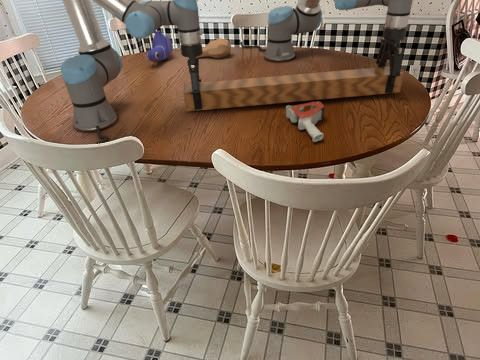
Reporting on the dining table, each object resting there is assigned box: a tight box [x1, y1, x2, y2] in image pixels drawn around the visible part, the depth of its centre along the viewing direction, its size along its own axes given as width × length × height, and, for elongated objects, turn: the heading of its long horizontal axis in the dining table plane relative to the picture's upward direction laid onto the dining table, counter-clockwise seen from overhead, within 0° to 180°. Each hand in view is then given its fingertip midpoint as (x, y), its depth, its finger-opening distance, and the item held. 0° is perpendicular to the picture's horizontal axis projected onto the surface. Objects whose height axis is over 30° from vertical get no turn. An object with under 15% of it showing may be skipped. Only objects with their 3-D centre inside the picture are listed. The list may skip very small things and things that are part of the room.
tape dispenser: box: [285, 100, 325, 143], centre depth 121 cm, size 18×5×20 cm
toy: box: [146, 29, 174, 67], centre depth 185 cm, size 10×17×25 cm
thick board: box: [183, 65, 405, 112], centre depth 136 cm, size 82×8×8 cm, turn 95°
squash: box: [197, 37, 232, 59], centre depth 188 cm, size 11×20×9 cm, turn 92°
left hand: (198, 103), depth 136 cm, fingers closed on thick board, 8 cm apart
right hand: (383, 87), depth 140 cm, fingers closed on thick board, 8 cm apart
